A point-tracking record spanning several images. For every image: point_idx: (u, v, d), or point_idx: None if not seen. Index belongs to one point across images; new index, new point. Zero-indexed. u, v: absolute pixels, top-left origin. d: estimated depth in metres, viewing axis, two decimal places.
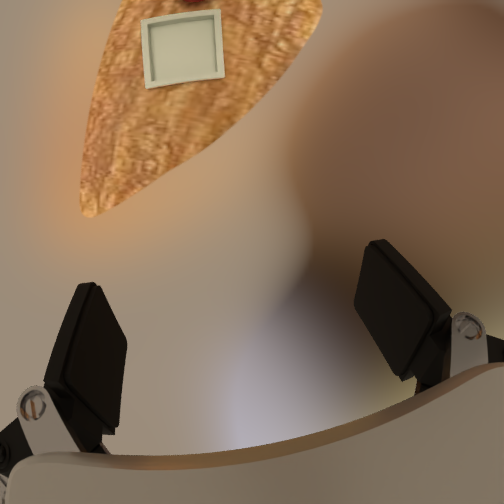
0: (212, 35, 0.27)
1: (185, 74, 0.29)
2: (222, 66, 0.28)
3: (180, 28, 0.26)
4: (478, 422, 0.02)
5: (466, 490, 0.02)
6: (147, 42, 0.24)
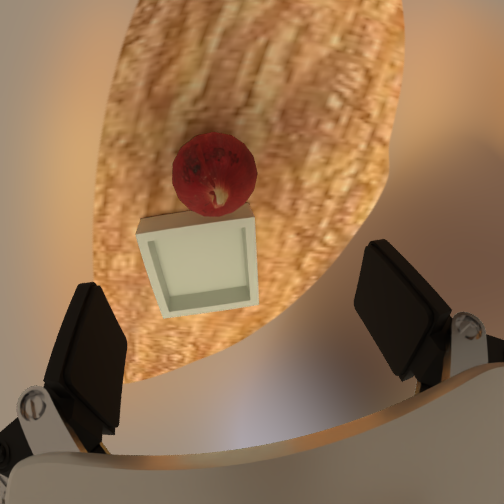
0: (240, 240, 0.26)
1: (208, 288, 0.28)
2: (256, 294, 0.27)
3: None
4: (478, 422, 0.02)
5: (466, 490, 0.02)
6: (153, 267, 0.23)
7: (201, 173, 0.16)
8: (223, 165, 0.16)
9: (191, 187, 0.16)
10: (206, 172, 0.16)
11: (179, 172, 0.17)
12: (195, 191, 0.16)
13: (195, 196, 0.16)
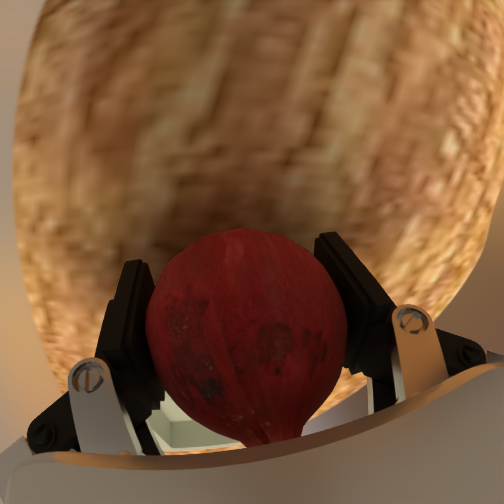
0: None
1: None
2: None
3: None
4: (478, 422, 0.02)
5: (466, 490, 0.02)
6: None
7: (227, 405, 0.05)
8: (290, 384, 0.05)
9: (200, 418, 0.06)
10: (242, 407, 0.05)
11: (162, 365, 0.06)
12: (212, 427, 0.06)
13: (213, 430, 0.06)
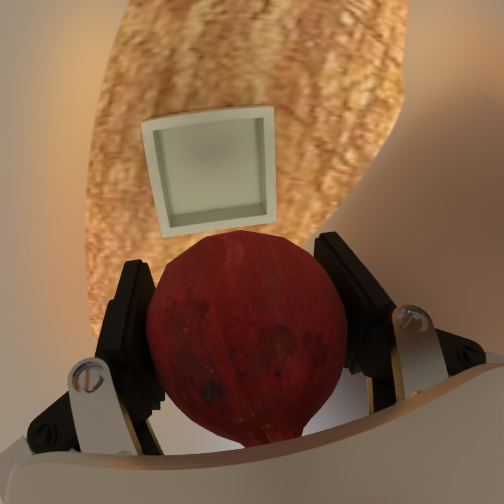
0: (256, 144, 0.22)
1: (217, 206, 0.24)
2: (273, 206, 0.23)
3: (206, 130, 0.21)
4: (478, 422, 0.02)
5: (466, 490, 0.02)
6: (156, 164, 0.19)
7: (228, 408, 0.05)
8: (291, 387, 0.05)
9: (201, 420, 0.06)
10: (242, 409, 0.05)
11: (163, 367, 0.06)
12: (212, 429, 0.06)
13: (214, 432, 0.06)
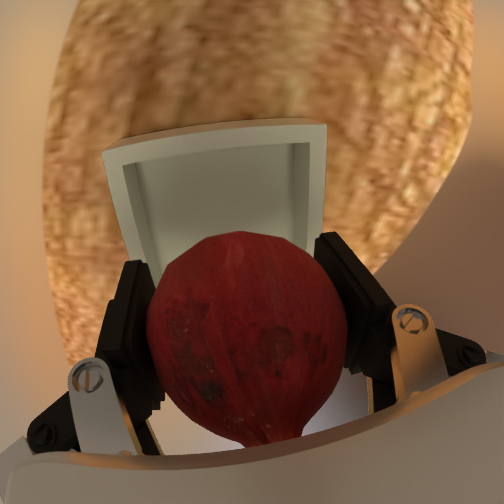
0: (290, 180, 0.15)
1: None
2: None
3: (212, 159, 0.13)
4: (478, 422, 0.02)
5: (466, 490, 0.02)
6: (133, 220, 0.12)
7: (228, 407, 0.05)
8: (291, 387, 0.05)
9: (201, 420, 0.06)
10: (242, 409, 0.05)
11: (163, 367, 0.06)
12: (212, 429, 0.06)
13: (213, 432, 0.06)
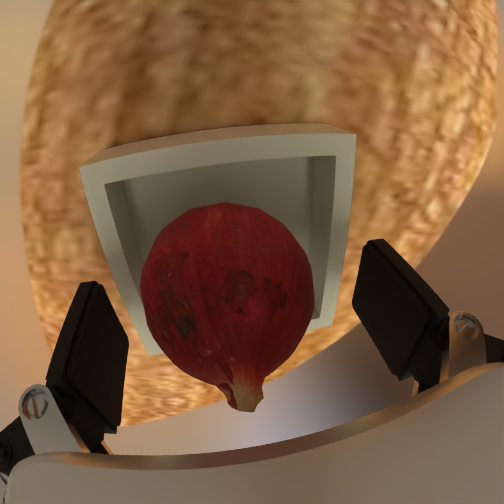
0: (307, 197, 0.12)
1: None
2: (332, 306, 0.13)
3: (215, 172, 0.11)
4: (478, 422, 0.02)
5: (466, 490, 0.02)
6: (120, 250, 0.10)
7: (199, 340, 0.06)
8: (252, 323, 0.06)
9: (179, 357, 0.07)
10: (210, 341, 0.06)
11: (151, 311, 0.07)
12: (188, 367, 0.07)
13: (190, 372, 0.07)
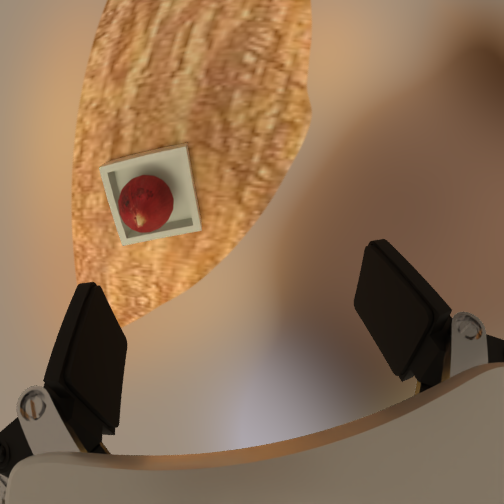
0: (183, 173, 0.30)
1: None
2: (197, 219, 0.31)
3: (146, 167, 0.29)
4: (478, 422, 0.02)
5: (466, 490, 0.02)
6: (112, 195, 0.27)
7: (129, 205, 0.24)
8: (142, 200, 0.24)
9: (125, 215, 0.24)
10: (132, 205, 0.24)
11: (120, 205, 0.25)
12: (127, 217, 0.24)
13: (128, 220, 0.25)
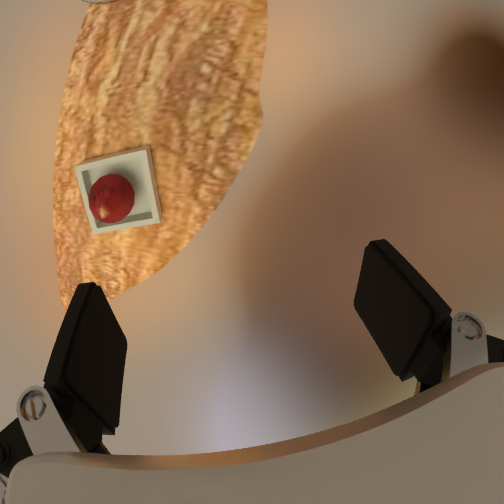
0: None
1: None
2: (156, 212, 0.34)
3: (114, 166, 0.31)
4: (478, 422, 0.02)
5: (466, 490, 0.02)
6: (85, 190, 0.30)
7: (95, 200, 0.27)
8: (105, 195, 0.27)
9: (92, 208, 0.27)
10: (97, 199, 0.27)
11: (89, 199, 0.28)
12: (94, 210, 0.27)
13: (95, 212, 0.27)
